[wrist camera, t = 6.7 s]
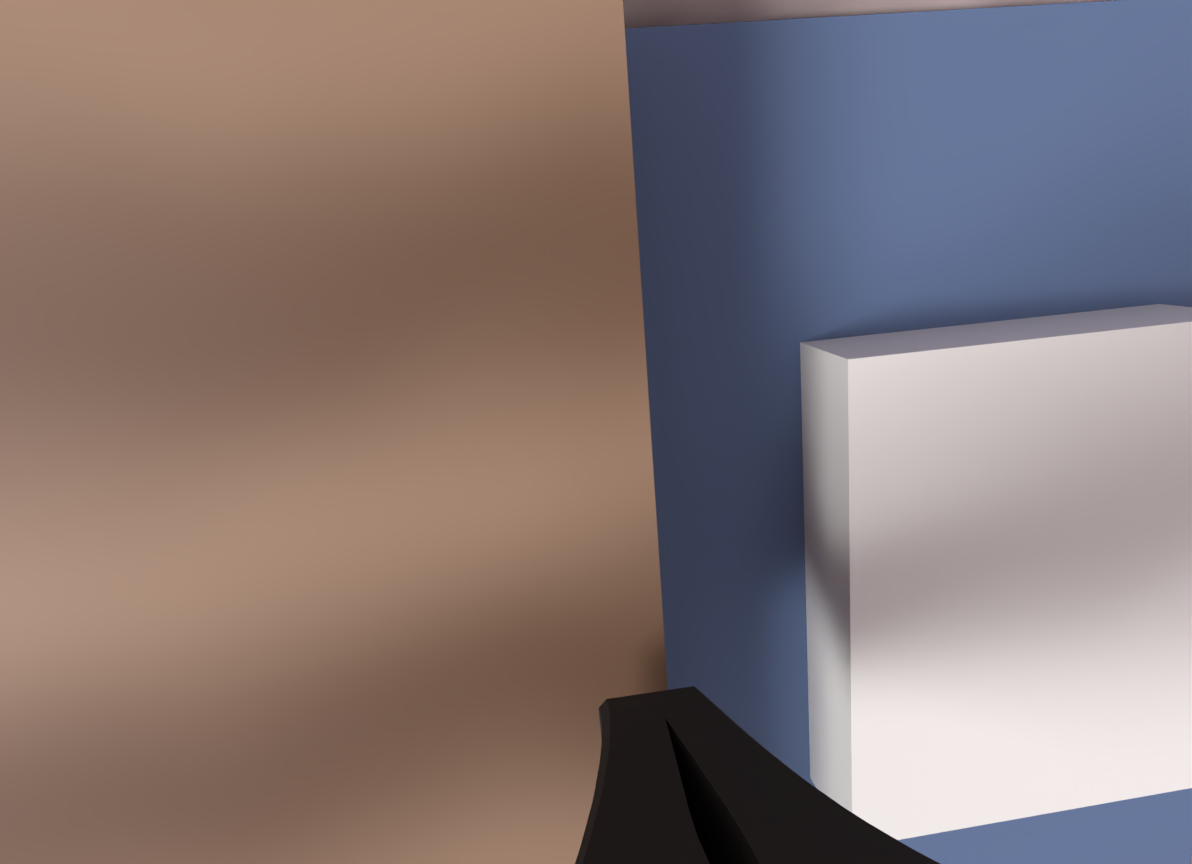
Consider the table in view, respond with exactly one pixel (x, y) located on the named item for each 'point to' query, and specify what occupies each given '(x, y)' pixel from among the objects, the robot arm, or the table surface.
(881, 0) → the table surface
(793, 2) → the table surface
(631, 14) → the table surface
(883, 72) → the mat
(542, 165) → the stand
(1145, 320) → the tile
